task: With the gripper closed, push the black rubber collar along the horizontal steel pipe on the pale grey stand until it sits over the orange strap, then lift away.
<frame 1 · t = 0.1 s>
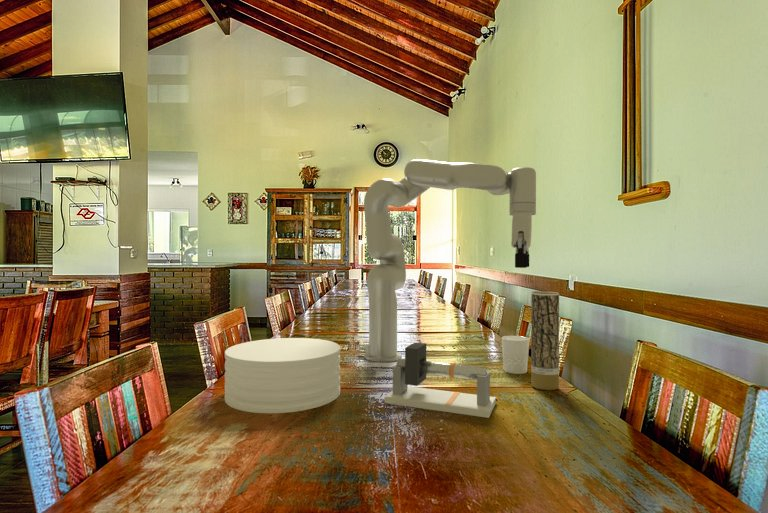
hand: (522, 267, 131), 31 cm above the table, tool pointing down, fingers open, 9 cm apart
collar: (415, 363, 105), point 9 cm above the table, slide at 0.0 cm
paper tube: (544, 388, 116), on the table
plate stack: (284, 394, 110), on the table
pipe: (440, 369, 103), point 7 cm above the table
pipe stand: (440, 403, 103), on the table
white cup: (515, 371, 132), on the table
orange strap: (452, 380, 102), point 6 cm above the table
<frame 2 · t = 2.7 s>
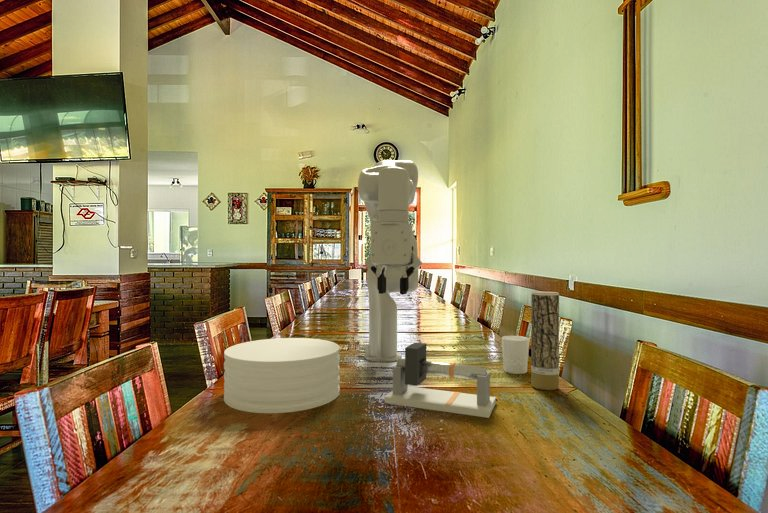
hand: (392, 292, 108), 25 cm above the table, tool pointing down, fingers open, 4 cm apart
nothing on the table moved.
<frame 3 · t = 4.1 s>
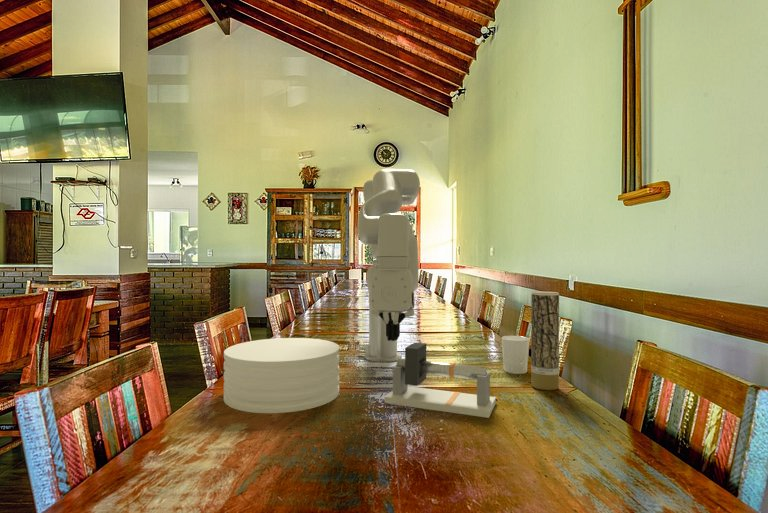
hand: (392, 339, 107), 14 cm above the table, tool pointing down, fingers closed
nothing on the table moved.
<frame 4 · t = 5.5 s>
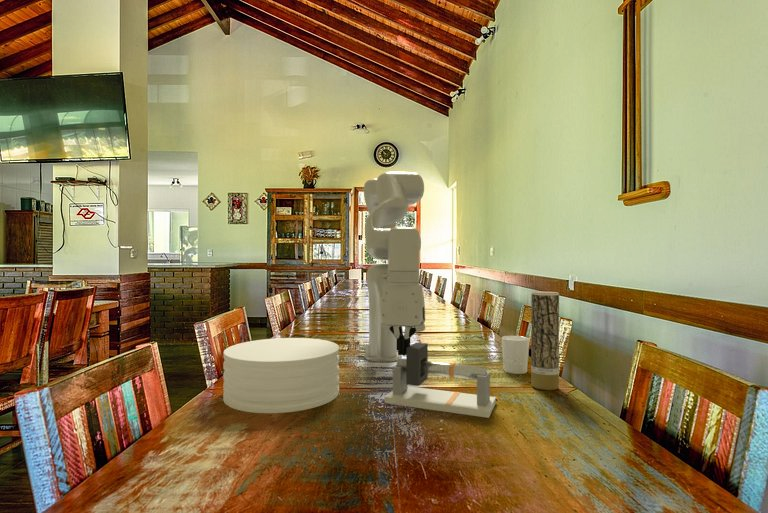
hand: (403, 354, 107), 11 cm above the table, tool pointing down, fingers closed
collar: (417, 363, 105), point 9 cm above the table, slide at 0.3 cm, touching gripper
everything else where it was.
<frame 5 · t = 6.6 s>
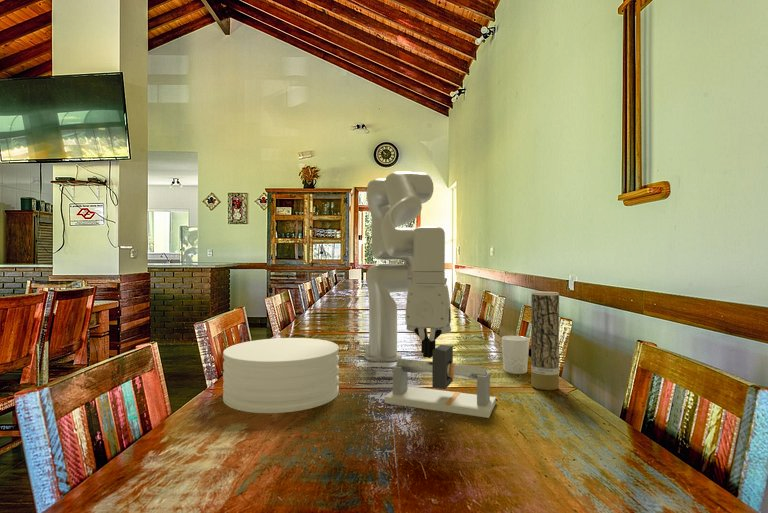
hand: (428, 356, 104), 11 cm above the table, tool pointing down, fingers closed
collar: (442, 366, 103), point 9 cm above the table, slide at 6.6 cm, touching gripper
everything else where it was.
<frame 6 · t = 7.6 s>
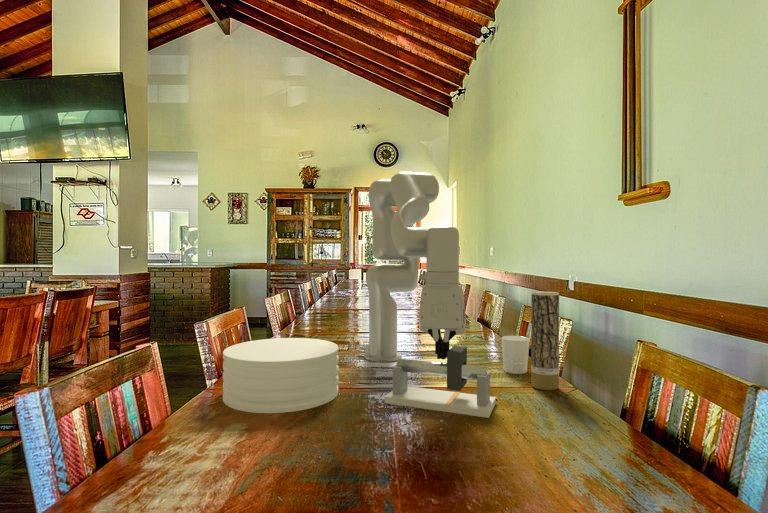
hand: (442, 357, 103), 11 cm above the table, tool pointing down, fingers closed
collar: (457, 367, 102), point 9 cm above the table, slide at 10.0 cm, touching gripper
everything else where it was.
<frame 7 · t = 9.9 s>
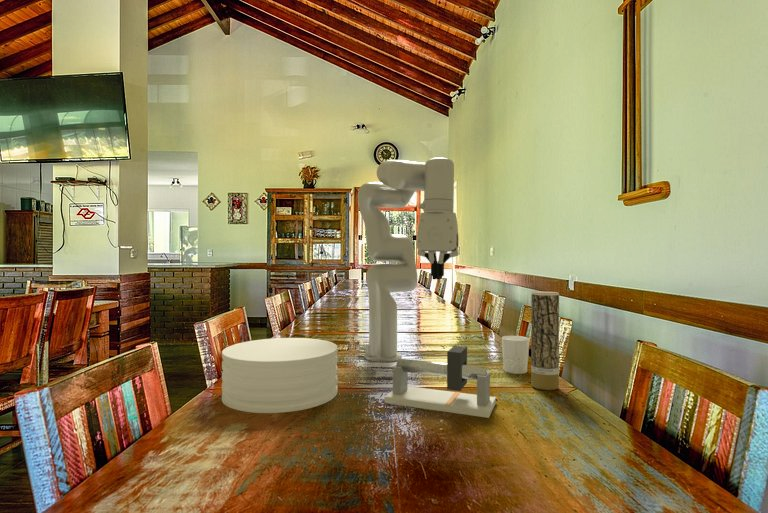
hand: (437, 278, 114), 29 cm above the table, tool pointing down, fingers closed
collar: (457, 367, 102), point 9 cm above the table, slide at 10.0 cm
everything else where it was.
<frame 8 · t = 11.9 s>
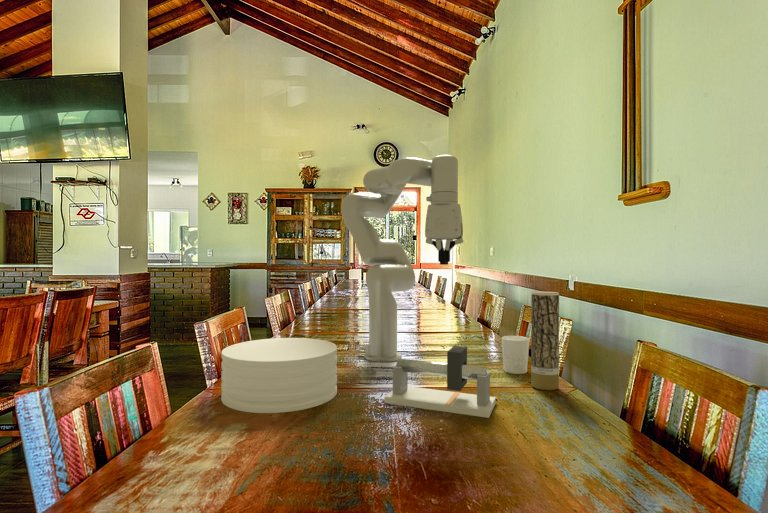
hand: (444, 264, 125), 32 cm above the table, tool pointing down, fingers closed
nothing on the table moved.
at the end: collar slide at 10.0 cm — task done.
